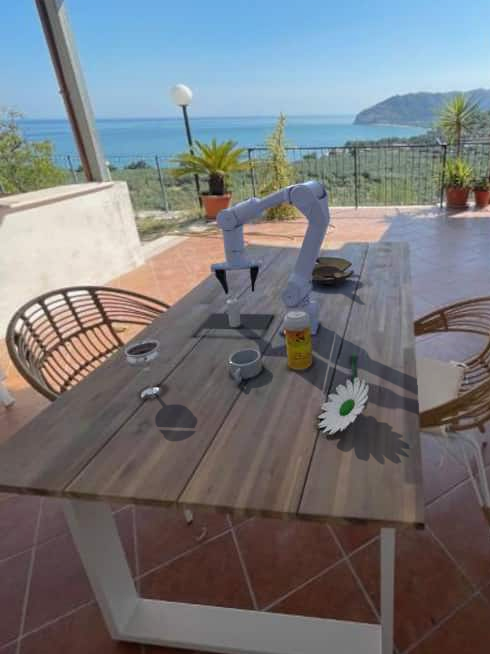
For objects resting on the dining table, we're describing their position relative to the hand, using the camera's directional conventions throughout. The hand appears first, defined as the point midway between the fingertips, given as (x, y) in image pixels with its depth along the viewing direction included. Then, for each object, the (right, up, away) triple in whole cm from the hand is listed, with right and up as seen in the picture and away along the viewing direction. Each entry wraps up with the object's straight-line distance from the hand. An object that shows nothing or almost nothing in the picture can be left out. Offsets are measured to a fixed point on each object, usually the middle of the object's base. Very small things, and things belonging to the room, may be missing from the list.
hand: (240, 291), depth 118 cm
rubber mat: (-2, -11, +1) cm, 11 cm away
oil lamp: (+23, +2, +34) cm, 42 cm away
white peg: (-2, -10, +1) cm, 10 cm away
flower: (+35, -22, -30) cm, 51 cm away
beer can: (+21, -18, -19) cm, 34 cm away
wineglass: (-11, -22, -29) cm, 38 cm away
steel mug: (+8, -19, -22) cm, 31 cm away
